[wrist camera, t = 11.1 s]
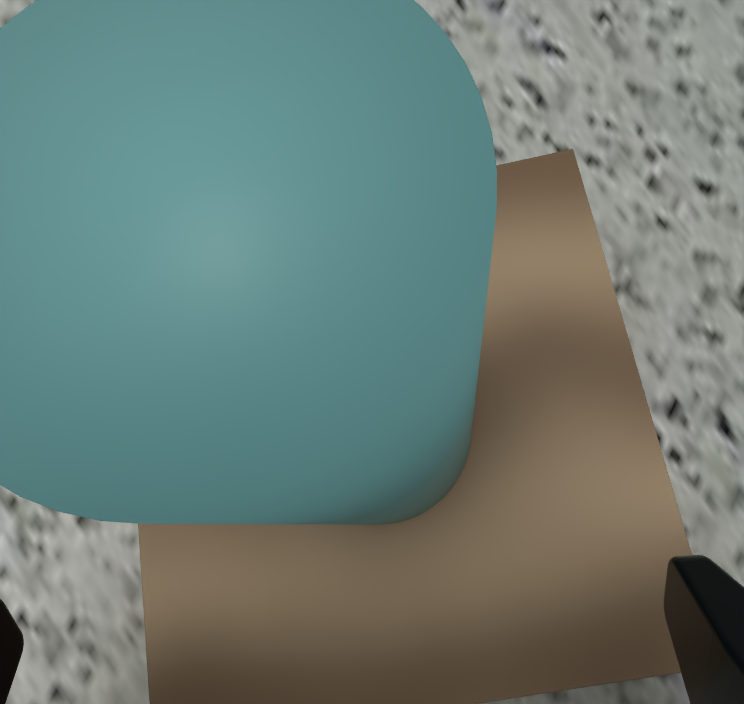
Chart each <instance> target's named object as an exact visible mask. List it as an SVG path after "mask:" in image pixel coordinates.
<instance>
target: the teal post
mask: <svg viewBox="0 0 744 704" xmlns="http://www.w3.org/2000/svg"><path fill="white" fill-rule="evenodd" d="M496 207H497V167H496V160H495V152H494V145H493V137H492V131H491V128H490V125H489V121H488V118H487V114H486V111H485V107H484V104H483V101H482V97H481V95H480V93H479V90H478V88H477V86H476V84H475V82H474V80H473V78H472V76H471V73H470V71H469V69H468V67H467V65H466V63H465V61H464V60H463V58H462V57H461V55H460V54H459V52H458V51H457V49H456V48H455V46H454V45H453V43H452V42H451V40H450V39H449V37H448V36H447V34H446V33H445V32H444V31H443V30H442V29H441V28H440V27H439V25H438V24H437V23H436V22H435V21H434V20H433V19H432V18H431V17H430V16H429V14H428V13H427V12H426V11H425V10H424V9H423V8H422V7H421V6H420V5H418V4H417V3H416V2H415V1H414V0H37V1H35V2H34V3H32V4H30V5H29V6H28V7H26V8H25V9H24V10H23V11H21V12H20V13H19V14H18V15H16V16H15V17H14V18H13V19H11V20H10V21H9V22H7V23H6V24H5V25H4V26H2V27H1V28H0V485H1V486H3V487H5V488H7V489H8V490H10V491H12V492H13V493H15V494H17V495H19V496H20V497H23V498H25V499H28V500H31V501H33V502H36V503H38V504H41V505H43V506H46V507H49V508H51V509H54V510H56V511H59V512H63V513H68V514H72V515H77V516H82V517H86V518H91V519H95V520H100V521H111V522H126V523H140V524H333V525H381V524H392V523H397V522H402V521H405V520H408V519H411V518H413V517H416V516H418V515H420V514H422V513H423V512H425V511H427V510H428V509H430V508H431V507H433V506H434V505H436V504H437V503H438V502H439V501H440V500H441V499H442V498H443V497H444V496H445V495H446V494H447V493H448V492H449V491H450V489H451V488H452V487H453V486H454V484H455V482H456V481H457V479H458V478H459V476H460V474H461V472H462V470H463V468H464V465H465V463H466V459H467V456H468V453H469V447H470V441H471V433H472V424H473V415H474V406H475V397H476V388H477V380H478V371H479V362H480V353H481V344H482V335H483V326H484V318H485V309H486V300H487V291H488V282H489V273H490V264H491V256H492V247H493V238H494V229H495V220H496Z"/></svg>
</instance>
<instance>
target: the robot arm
mask: <svg viewBox="0 0 744 704" xmlns="http://www.w3.org/2000/svg"><path fill="white" fill-rule="evenodd" d="M663 603H664V613H665V618H666V622H667V626H668V629H669V632H670V636H671V639H672V643H673V646H674V649H675V653H676V656H677V660H678V663H679V666H680V670H681V673H682V677H683V680H684V683H685V687H686V690H687V694H688V697H689V700H690V704H744V587H743V586H742V585H741V584H739V583H738V582H737V581H736V580H735V579H733V578H732V577H731V576H730V575H729V574H727V573H726V572H725V571H724V570H723V569H721V568H720V567H719V566H718V565H717V564H715V563H714V562H713V561H712V560H711V559H709V558H707V557H705V556H703V555H689V556H675V557H672V558H671V559H670V560H669V562H668V566H667V575H666V583H665V592H664V602H663ZM23 645H24V640H23V634H22V632H21V630H20V629H19V627H18V625H17V624H16V622H15V620H14V619H13V617H12V615H11V614H10V612H9V610H8V609H7V607H6V605H5V604H4V602H3V601H2V600H1V599H0V704H5V703H6V700H7V697H8V694H9V691H10V688H11V685H12V682H13V679H14V676H15V673H16V670H17V667H18V664H19V661H20V658H21V655H22V651H23Z"/></svg>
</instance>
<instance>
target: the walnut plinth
mask: <svg viewBox="0 0 744 704" xmlns="http://www.w3.org/2000/svg"><path fill="white" fill-rule="evenodd" d="M496 167H497V207H496V220H495V229H494V238H493V247H492V256H491V264H490V273H489V282H488V291H487V300H486V309H485V318H484V326H483V335H482V344H481V353H480V362H479V371H478V380H477V388H476V397H475V406H474V415H473V424H472V433H471V441H470V447H469V453H468V456H467V459H466V463H465V465H464V468H463V470H462V472H461V474H460V476H459V478H458V479H457V481H456V482H455V484H454V486H453V487H452V488H451V489H450V491H449V492H448V493H447V494H446V495H445V496H444V497H443V498H442V499H441V500H440V501H439V502H438V503H437V504H436V505H434V506H433V507H431V508H430V509H428V510H427V511H425V512H423V513H422V514H420V515H418V516H416V517H413V518H411V519H408V520H405V521H402V522H397V523H392V524H381V525H333V524H140V523H138V529H139V544H140V560H141V575H142V591H143V607H144V622H145V638H146V653H147V669H148V684H149V700H150V704H477V703H484V702H490V701H497V700H504V699H510V698H517V697H523V696H530V695H536V694H543V693H550V692H556V691H563V690H569V689H576V688H582V687H589V686H595V685H602V684H609V683H615V682H622V681H628V680H635V679H641V678H648V677H655V676H661V675H668V674H674V673H681V670H680V666H679V663H678V660H677V656H676V653H675V649H674V646H673V643H672V639H671V636H670V632H669V629H668V626H667V622H666V618H665V613H664V603H663V602H664V592H665V583H666V575H667V566H668V562H669V560H670V559H671V558H672V557H675V556H689V555H692V554H691V550H690V547H689V544H688V540H687V537H686V533H685V530H684V527H683V523H682V520H681V516H680V513H679V509H678V506H677V503H676V499H675V496H674V492H673V489H672V486H671V482H670V479H669V475H668V472H667V468H666V465H665V462H664V458H663V455H662V451H661V448H660V445H659V441H658V438H657V434H656V431H655V428H654V424H653V421H652V417H651V414H650V410H649V407H648V404H647V400H646V397H645V393H644V390H643V387H642V383H641V380H640V376H639V373H638V370H637V366H636V363H635V359H634V356H633V352H632V349H631V346H630V342H629V339H628V335H627V332H626V329H625V325H624V322H623V318H622V315H621V311H620V308H619V305H618V301H617V298H616V294H615V291H614V288H613V284H612V281H611V277H610V274H609V271H608V267H607V264H606V260H605V257H604V253H603V250H602V247H601V243H600V240H599V236H598V233H597V230H596V226H595V223H594V219H593V216H592V213H591V209H590V206H589V202H588V199H587V195H586V192H585V189H584V185H583V182H582V178H581V175H580V172H579V168H578V165H577V161H576V158H575V154H574V151H573V149H570V150H566V151H561V152H557V153H552V154H548V155H543V156H538V157H534V158H529V159H525V160H520V161H516V162H511V163H507V164H502V165H497V166H496Z"/></svg>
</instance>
